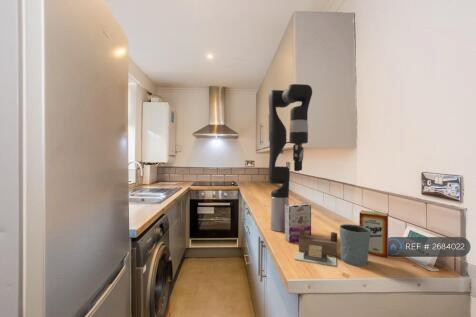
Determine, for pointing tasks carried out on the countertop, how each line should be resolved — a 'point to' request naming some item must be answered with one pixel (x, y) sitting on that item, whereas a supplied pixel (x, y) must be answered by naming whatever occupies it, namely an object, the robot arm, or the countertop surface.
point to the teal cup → (354, 244)
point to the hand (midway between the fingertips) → (298, 170)
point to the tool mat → (330, 260)
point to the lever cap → (315, 254)
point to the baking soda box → (376, 231)
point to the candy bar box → (297, 220)
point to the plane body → (318, 243)
